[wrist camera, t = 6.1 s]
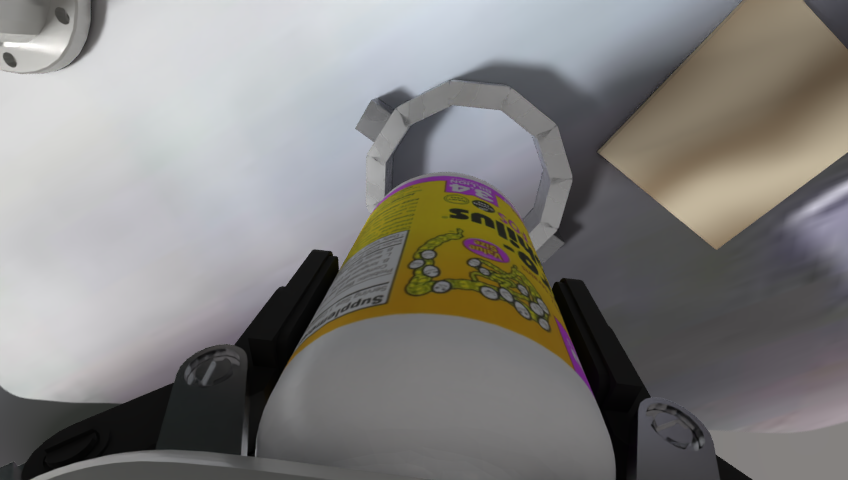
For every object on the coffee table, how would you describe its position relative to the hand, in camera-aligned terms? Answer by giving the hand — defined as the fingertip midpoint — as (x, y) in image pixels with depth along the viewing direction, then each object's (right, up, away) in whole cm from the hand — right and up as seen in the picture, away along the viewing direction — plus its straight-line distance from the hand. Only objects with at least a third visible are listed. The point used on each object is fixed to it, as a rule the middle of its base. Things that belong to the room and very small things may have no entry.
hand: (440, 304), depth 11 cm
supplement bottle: (0, +2, +4) cm, 4 cm away
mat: (+18, +8, +10) cm, 22 cm away
